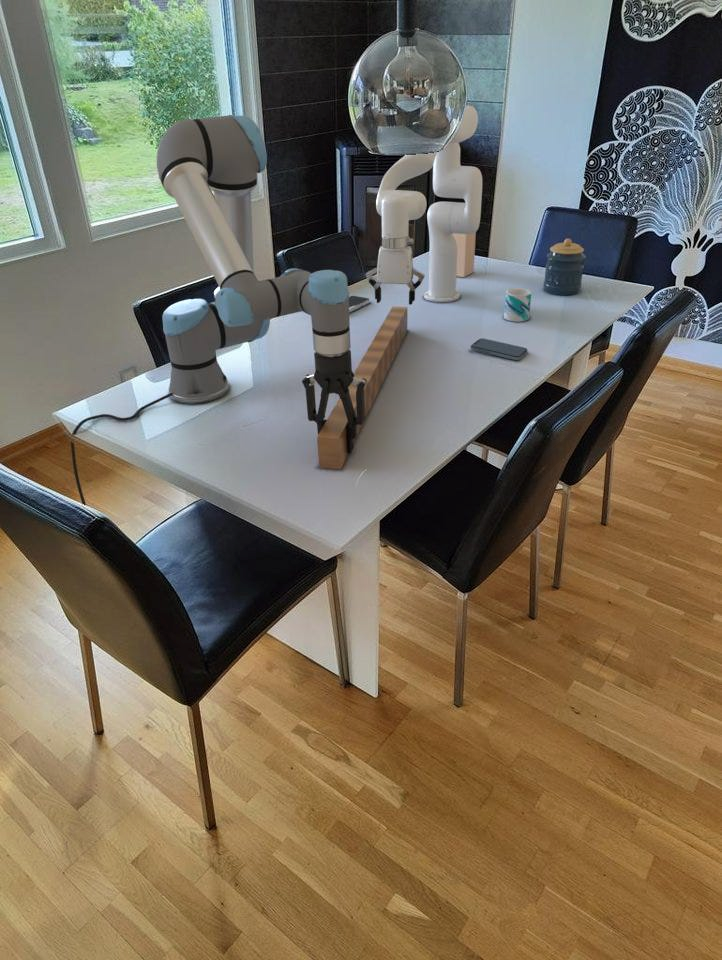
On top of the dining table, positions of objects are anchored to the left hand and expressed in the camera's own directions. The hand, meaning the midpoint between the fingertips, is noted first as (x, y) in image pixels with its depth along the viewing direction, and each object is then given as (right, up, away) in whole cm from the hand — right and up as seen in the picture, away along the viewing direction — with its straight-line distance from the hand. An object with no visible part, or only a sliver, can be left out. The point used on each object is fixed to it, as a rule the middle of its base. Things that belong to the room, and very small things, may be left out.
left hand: (338, 449), depth 149 cm
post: (+8, +18, +29) cm, 35 cm away
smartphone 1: (+1, +53, +83) cm, 98 cm away
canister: (+77, +61, +90) cm, 133 cm away
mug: (+56, +47, +70) cm, 101 cm away
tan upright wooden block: (+44, +74, +113) cm, 143 cm away
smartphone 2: (+45, +30, +45) cm, 70 cm away
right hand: (+15, +46, +50) cm, 69 cm away
